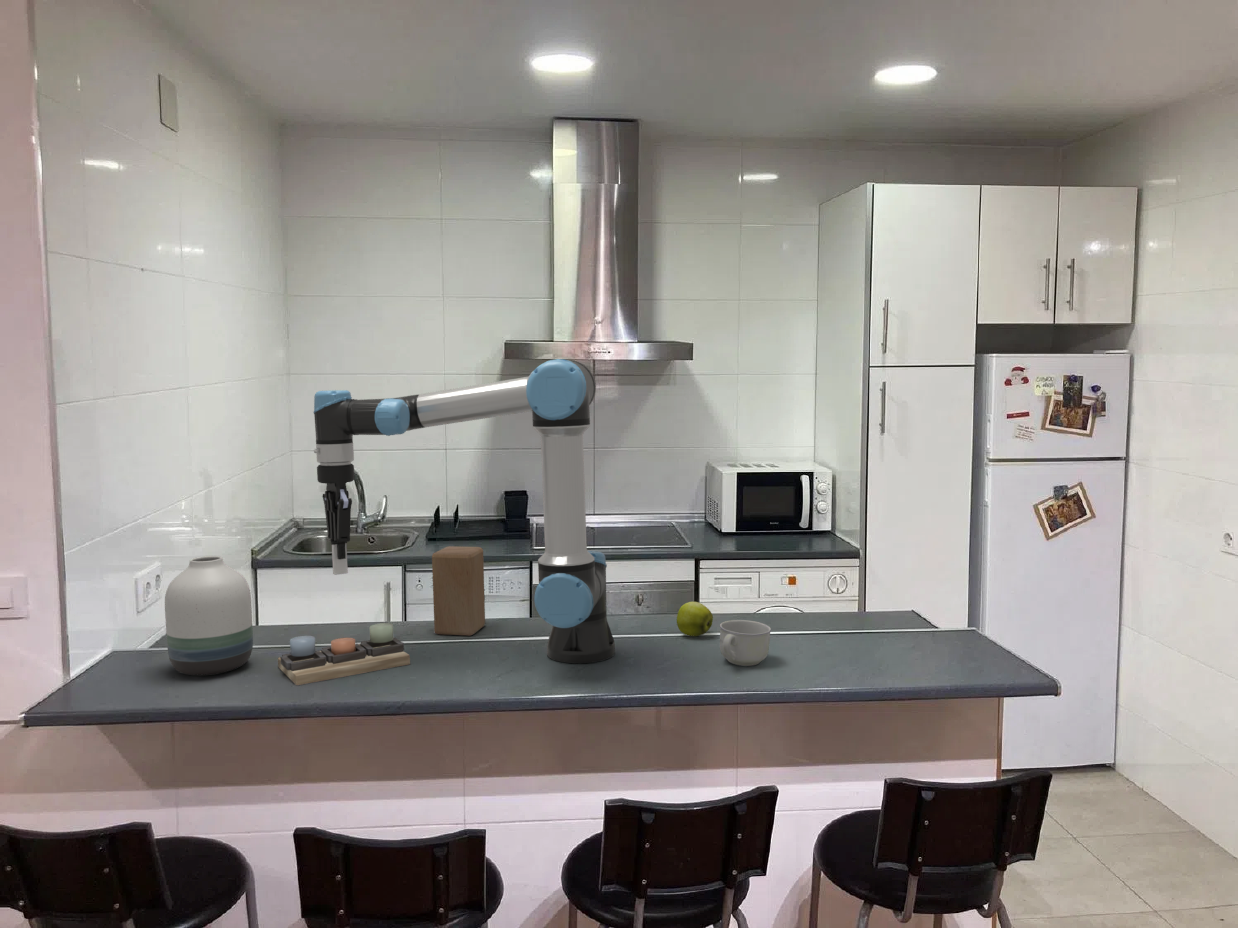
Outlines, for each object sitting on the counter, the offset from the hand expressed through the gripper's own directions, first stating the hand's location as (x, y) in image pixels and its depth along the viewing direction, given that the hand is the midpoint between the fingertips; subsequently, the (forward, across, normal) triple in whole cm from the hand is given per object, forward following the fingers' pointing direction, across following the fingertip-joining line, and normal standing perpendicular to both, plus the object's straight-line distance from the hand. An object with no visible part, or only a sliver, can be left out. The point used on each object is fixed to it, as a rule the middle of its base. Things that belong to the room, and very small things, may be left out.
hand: (340, 573), depth 204 cm
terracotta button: (+18, 0, 0) cm, 18 cm away
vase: (+20, -15, -24) cm, 35 cm away
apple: (+21, +25, +75) cm, 82 cm away
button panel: (+20, 0, 0) cm, 20 cm away
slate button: (+16, 0, -9) cm, 18 cm away
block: (+21, -12, +32) cm, 40 cm away
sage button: (+16, 0, +8) cm, 18 cm away
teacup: (+21, +48, +70) cm, 88 cm away
